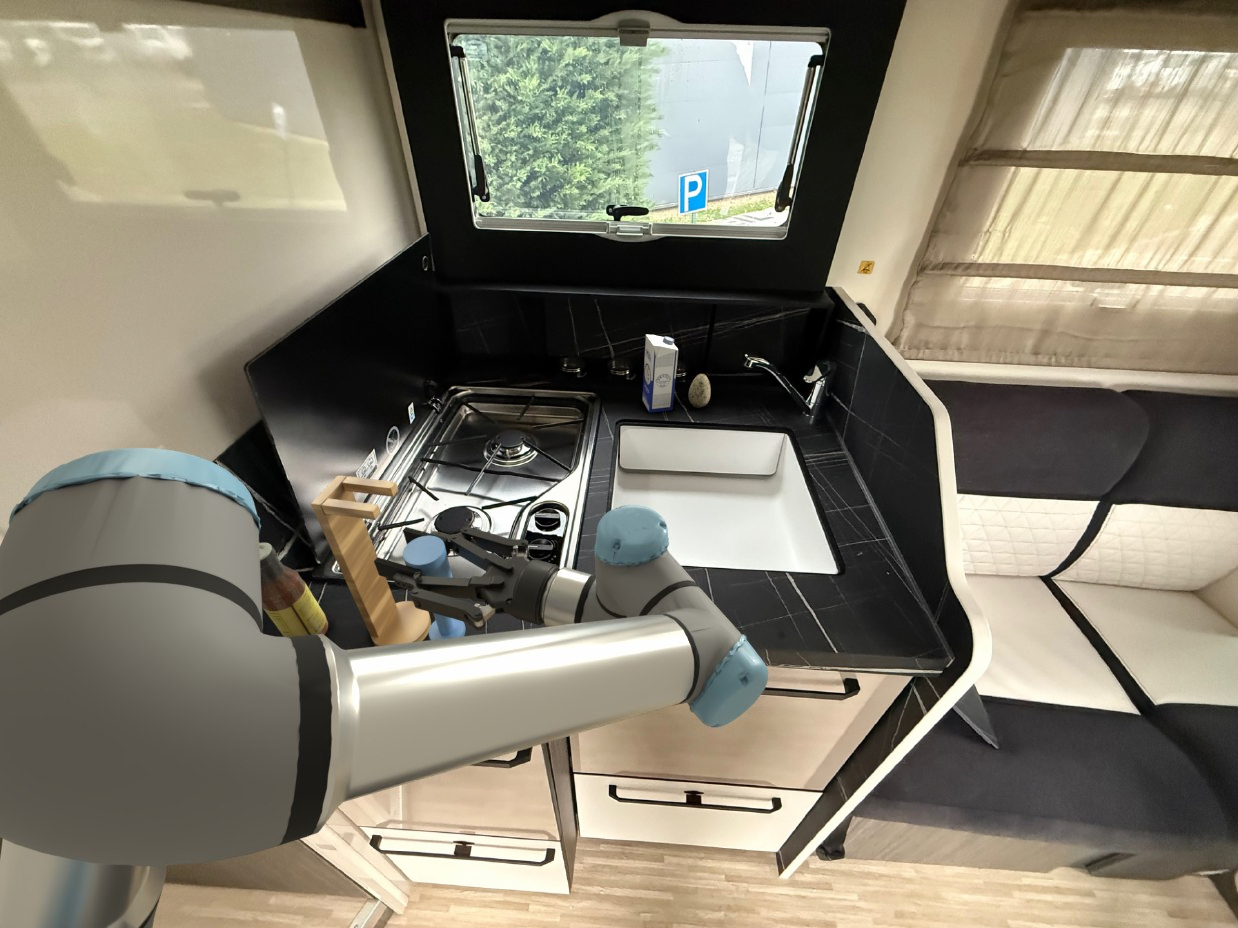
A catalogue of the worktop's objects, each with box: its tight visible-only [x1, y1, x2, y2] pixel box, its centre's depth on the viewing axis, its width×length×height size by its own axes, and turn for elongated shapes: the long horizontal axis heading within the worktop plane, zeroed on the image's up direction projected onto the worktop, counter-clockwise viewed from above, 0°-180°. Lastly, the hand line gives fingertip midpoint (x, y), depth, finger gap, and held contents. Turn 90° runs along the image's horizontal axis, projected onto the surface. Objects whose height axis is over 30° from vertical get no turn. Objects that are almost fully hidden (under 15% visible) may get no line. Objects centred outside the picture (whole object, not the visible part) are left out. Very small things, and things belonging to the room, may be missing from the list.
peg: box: [402, 536, 466, 640], centre depth 73 cm, size 5×5×18 cm
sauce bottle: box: [259, 542, 329, 637], centre depth 79 cm, size 6×6×20 cm
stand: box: [310, 474, 432, 647], centre depth 77 cm, size 10×9×30 cm
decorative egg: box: [688, 373, 712, 409], centre depth 142 cm, size 6×6×10 cm
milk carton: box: [641, 334, 679, 414], centre depth 139 cm, size 7×7×20 cm
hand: (393, 550), depth 70 cm, fingers closed on peg, 5 cm apart
